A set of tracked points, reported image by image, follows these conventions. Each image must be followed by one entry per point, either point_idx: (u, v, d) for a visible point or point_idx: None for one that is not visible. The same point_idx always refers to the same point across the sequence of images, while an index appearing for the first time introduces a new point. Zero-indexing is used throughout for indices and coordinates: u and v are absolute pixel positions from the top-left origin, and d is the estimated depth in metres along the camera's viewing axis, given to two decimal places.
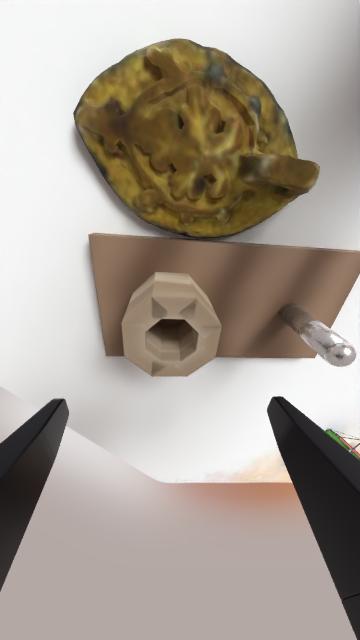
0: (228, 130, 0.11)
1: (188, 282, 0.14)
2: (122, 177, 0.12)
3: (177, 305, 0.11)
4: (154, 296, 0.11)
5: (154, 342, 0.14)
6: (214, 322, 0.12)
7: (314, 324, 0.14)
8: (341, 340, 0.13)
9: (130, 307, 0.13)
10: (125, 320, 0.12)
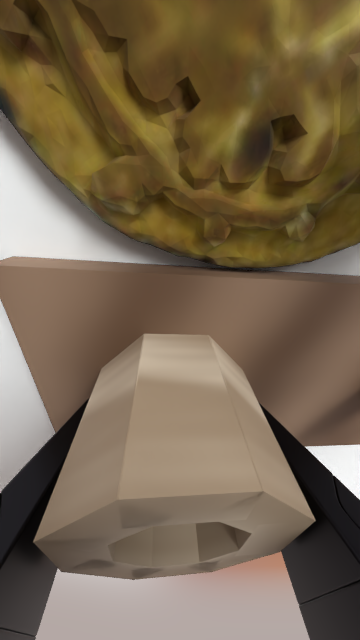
0: None
1: (217, 375, 0.06)
2: (53, 121, 0.05)
3: (202, 506, 0.04)
4: (126, 492, 0.03)
5: None
6: (298, 517, 0.04)
7: None
8: None
9: (76, 449, 0.05)
10: (44, 534, 0.04)
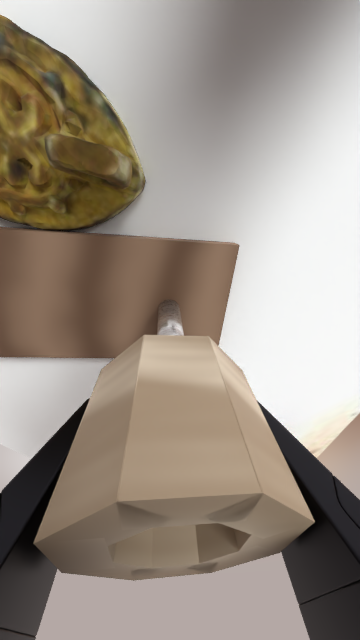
0: (26, 108, 0.10)
1: (216, 376, 0.06)
2: None
3: (201, 506, 0.04)
4: (126, 494, 0.03)
5: None
6: (298, 519, 0.04)
7: (165, 321, 0.13)
8: None
9: (76, 450, 0.05)
10: (44, 535, 0.04)
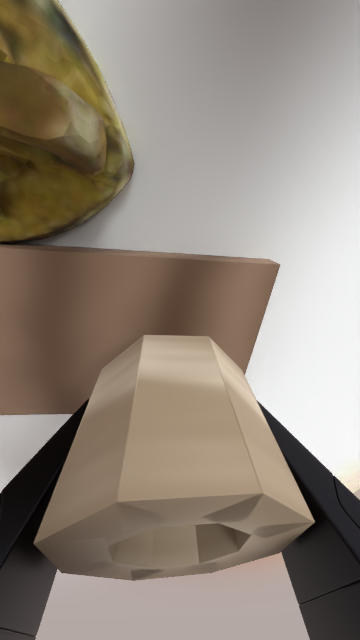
0: None
1: (216, 376, 0.06)
2: None
3: (201, 507, 0.04)
4: (126, 494, 0.03)
5: None
6: (298, 519, 0.04)
7: None
8: None
9: (76, 451, 0.05)
10: (44, 535, 0.04)
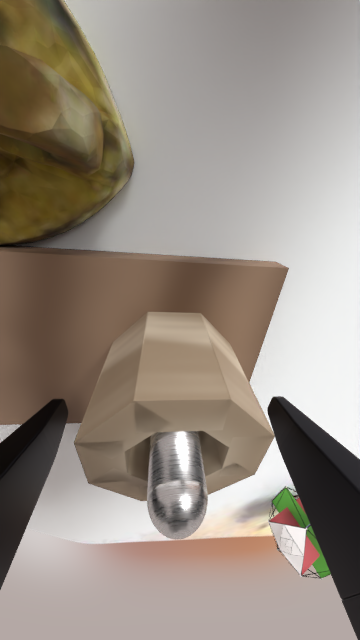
0: None
1: (205, 338, 0.08)
2: None
3: (190, 411, 0.05)
4: (139, 397, 0.05)
5: None
6: (261, 431, 0.06)
7: None
8: (177, 472, 0.06)
9: (99, 391, 0.07)
10: (81, 437, 0.06)
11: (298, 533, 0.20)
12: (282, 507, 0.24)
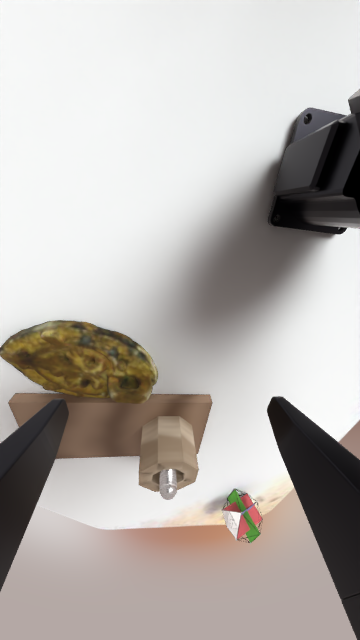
0: (97, 364, 0.18)
1: (179, 433, 0.22)
2: (33, 375, 0.19)
3: (172, 464, 0.20)
4: (159, 461, 0.19)
5: None
6: (194, 468, 0.20)
7: None
8: (168, 481, 0.20)
9: (143, 454, 0.21)
10: (141, 471, 0.20)
11: (236, 515, 0.34)
12: (232, 502, 0.38)
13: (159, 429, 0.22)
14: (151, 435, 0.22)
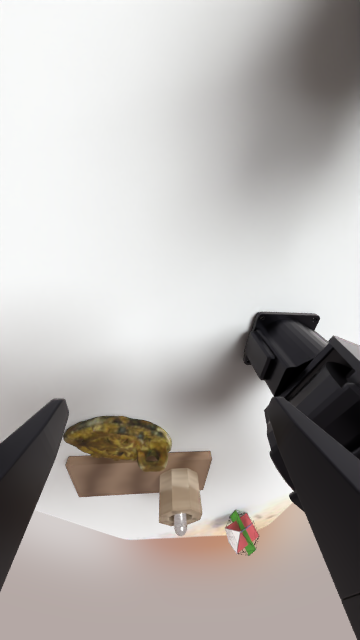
0: (129, 444, 0.26)
1: (187, 484, 0.30)
2: (84, 449, 0.27)
3: (183, 511, 0.27)
4: (173, 509, 0.27)
5: None
6: (198, 512, 0.28)
7: None
8: (180, 522, 0.28)
9: (161, 500, 0.29)
10: (161, 515, 0.28)
11: (236, 534, 0.42)
12: (234, 520, 0.46)
13: (172, 480, 0.30)
14: (167, 485, 0.30)
